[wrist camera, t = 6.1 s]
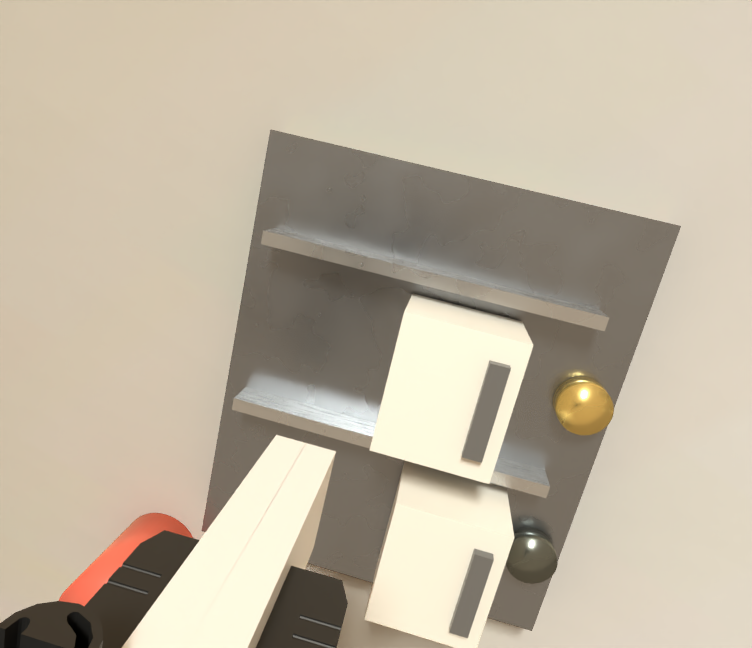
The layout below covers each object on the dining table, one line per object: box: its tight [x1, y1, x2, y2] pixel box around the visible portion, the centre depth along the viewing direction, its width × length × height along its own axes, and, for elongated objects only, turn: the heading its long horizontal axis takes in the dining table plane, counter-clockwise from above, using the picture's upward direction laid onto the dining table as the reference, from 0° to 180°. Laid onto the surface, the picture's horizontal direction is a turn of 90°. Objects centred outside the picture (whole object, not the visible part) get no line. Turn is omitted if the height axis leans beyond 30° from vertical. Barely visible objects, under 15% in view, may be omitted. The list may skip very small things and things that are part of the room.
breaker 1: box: [370, 294, 533, 484], centre depth 24 cm, size 5×6×4 cm
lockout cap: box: [59, 513, 193, 606], centre depth 30 cm, size 4×4×7 cm
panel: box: [202, 130, 681, 631], centre depth 27 cm, size 18×21×4 cm
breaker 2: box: [365, 461, 514, 648], centre depth 26 cm, size 5×6×4 cm
